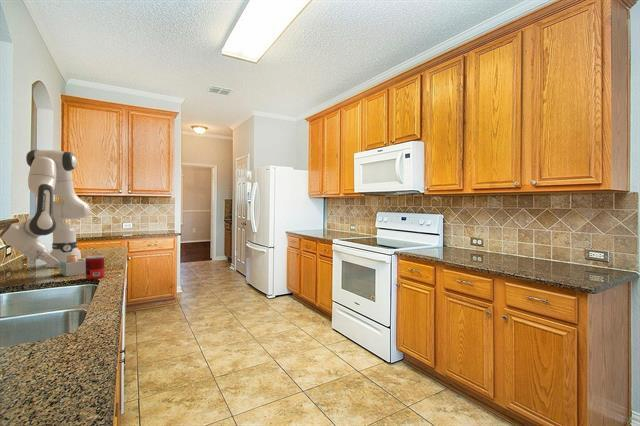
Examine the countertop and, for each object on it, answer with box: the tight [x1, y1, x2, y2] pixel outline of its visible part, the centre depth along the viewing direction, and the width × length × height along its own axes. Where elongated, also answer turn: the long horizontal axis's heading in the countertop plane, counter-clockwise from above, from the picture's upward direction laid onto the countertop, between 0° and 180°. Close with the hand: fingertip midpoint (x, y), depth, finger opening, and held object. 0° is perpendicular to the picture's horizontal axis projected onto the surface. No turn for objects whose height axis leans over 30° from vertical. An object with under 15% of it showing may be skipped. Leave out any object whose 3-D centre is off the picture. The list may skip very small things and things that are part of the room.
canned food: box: [85, 254, 105, 280], centre depth 168 cm, size 8×8×11 cm
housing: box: [63, 257, 86, 277], centre depth 177 cm, size 11×10×7 cm
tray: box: [59, 260, 66, 277], centre depth 177 cm, size 9×10×7 cm
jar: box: [66, 254, 78, 263], centre depth 176 cm, size 5×5×9 cm
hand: (60, 267), depth 173 cm, fingers closed, pressing on tray
